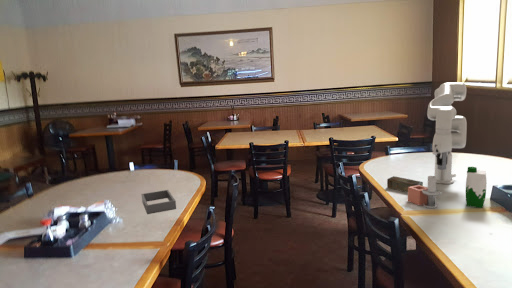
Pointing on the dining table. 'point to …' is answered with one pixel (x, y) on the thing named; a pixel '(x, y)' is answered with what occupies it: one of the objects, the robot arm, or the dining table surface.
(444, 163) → the gray square bar
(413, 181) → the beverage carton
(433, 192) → the silver flanged rod
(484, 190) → the milk carton
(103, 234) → the dining table surface
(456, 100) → the robot arm
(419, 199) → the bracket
